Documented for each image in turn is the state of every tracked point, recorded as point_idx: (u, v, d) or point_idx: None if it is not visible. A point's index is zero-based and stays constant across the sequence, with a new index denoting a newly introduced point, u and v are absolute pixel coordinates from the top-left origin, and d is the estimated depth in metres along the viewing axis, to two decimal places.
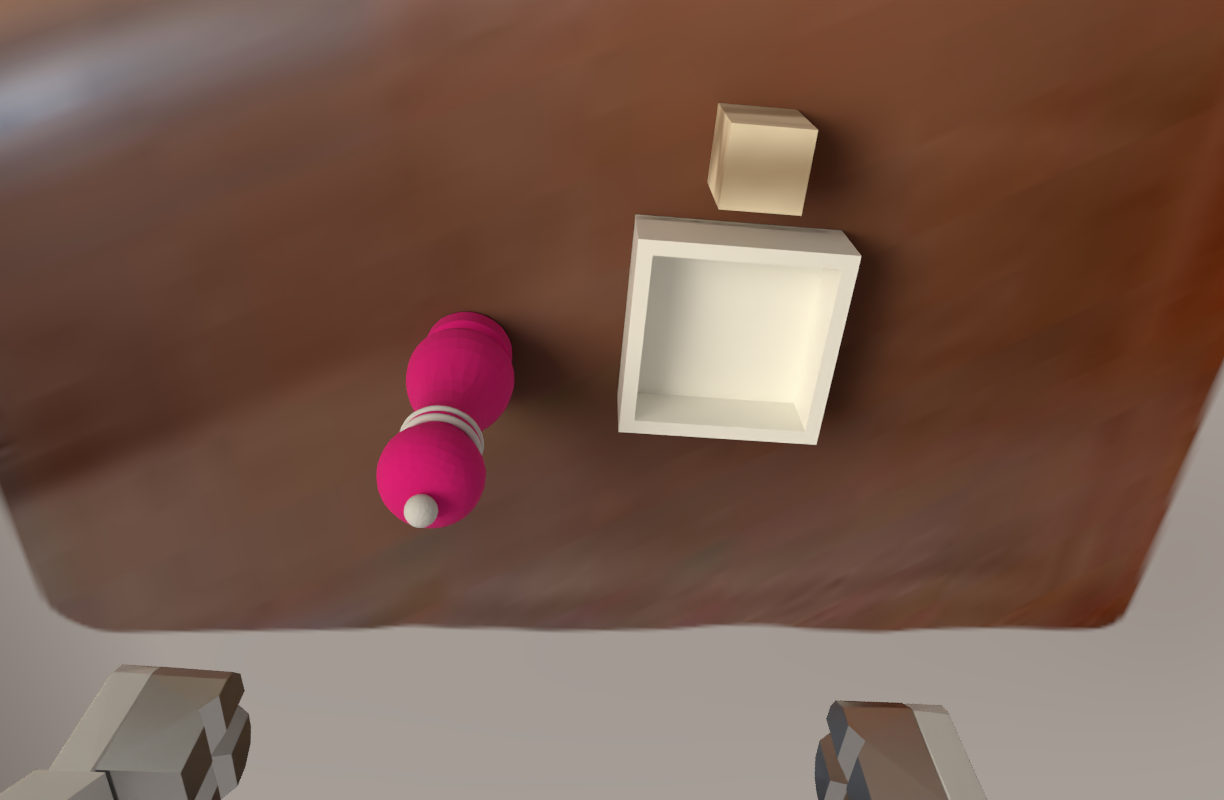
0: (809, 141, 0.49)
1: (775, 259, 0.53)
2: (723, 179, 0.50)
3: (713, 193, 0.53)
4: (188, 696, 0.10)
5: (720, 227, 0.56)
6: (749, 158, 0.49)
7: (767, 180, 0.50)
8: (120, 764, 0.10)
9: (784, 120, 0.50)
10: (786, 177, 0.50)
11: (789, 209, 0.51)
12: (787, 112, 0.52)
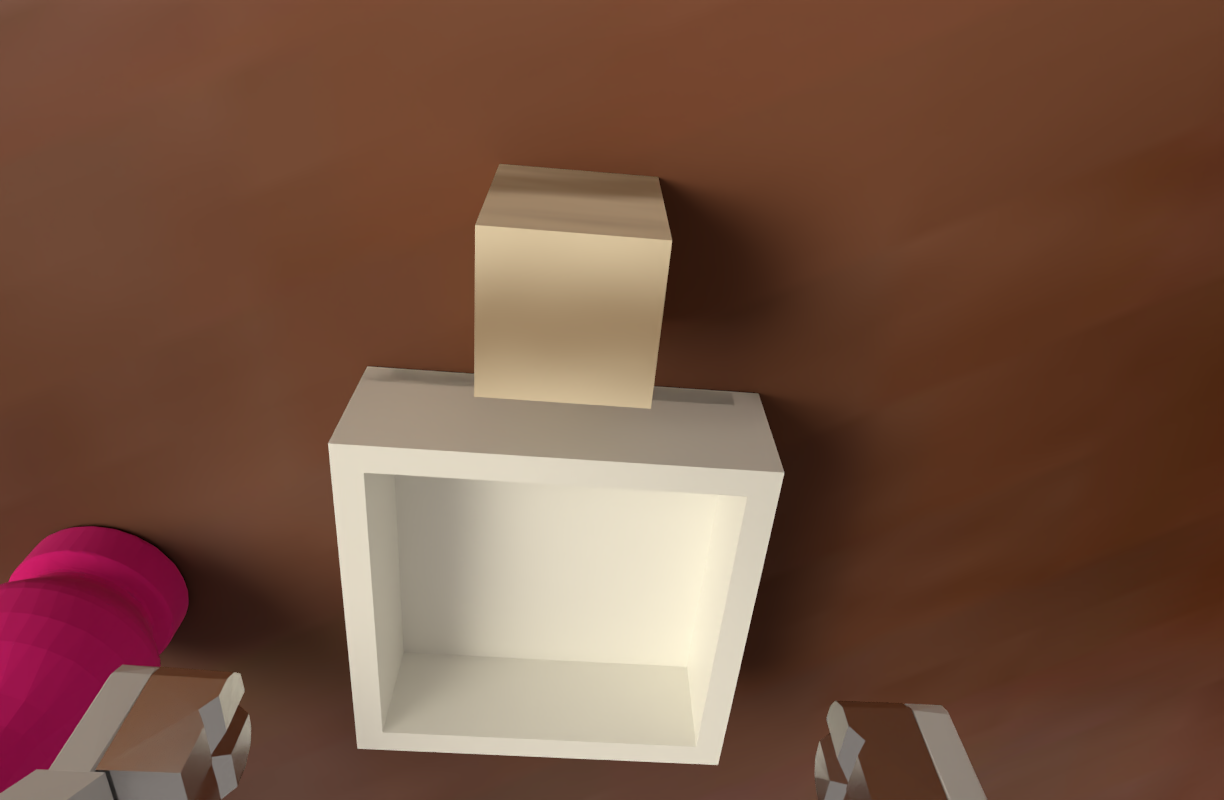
0: (654, 263, 0.22)
1: (612, 478, 0.26)
2: (476, 339, 0.23)
3: None
4: (188, 696, 0.10)
5: None
6: (526, 298, 0.22)
7: (571, 342, 0.23)
8: (120, 764, 0.10)
9: (610, 211, 0.23)
10: (610, 335, 0.23)
11: (624, 396, 0.24)
12: (632, 185, 0.26)
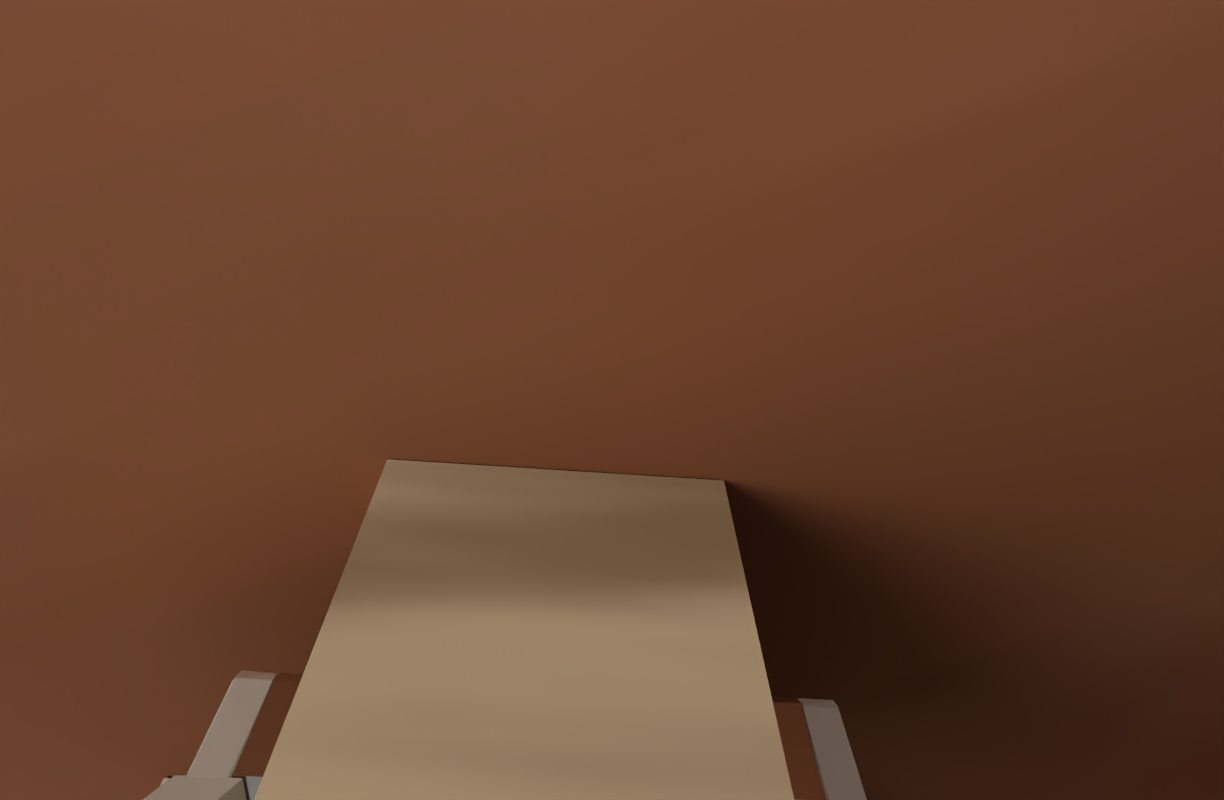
0: None
1: None
2: None
3: None
4: None
5: None
6: None
7: None
8: (255, 770, 0.10)
9: (627, 683, 0.09)
10: None
11: None
12: (673, 530, 0.12)
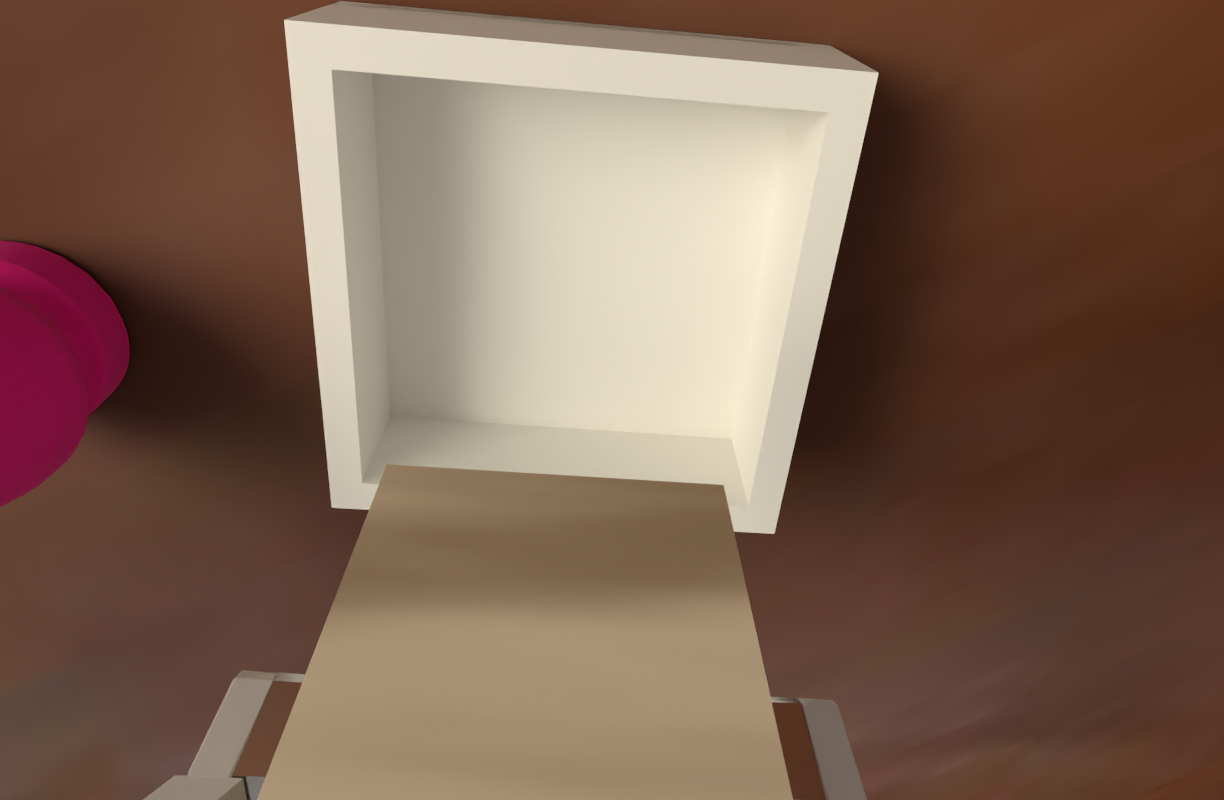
0: None
1: (654, 82, 0.20)
2: None
3: None
4: None
5: (535, 24, 0.23)
6: None
7: None
8: (255, 770, 0.10)
9: (627, 690, 0.09)
10: None
11: None
12: (673, 535, 0.12)
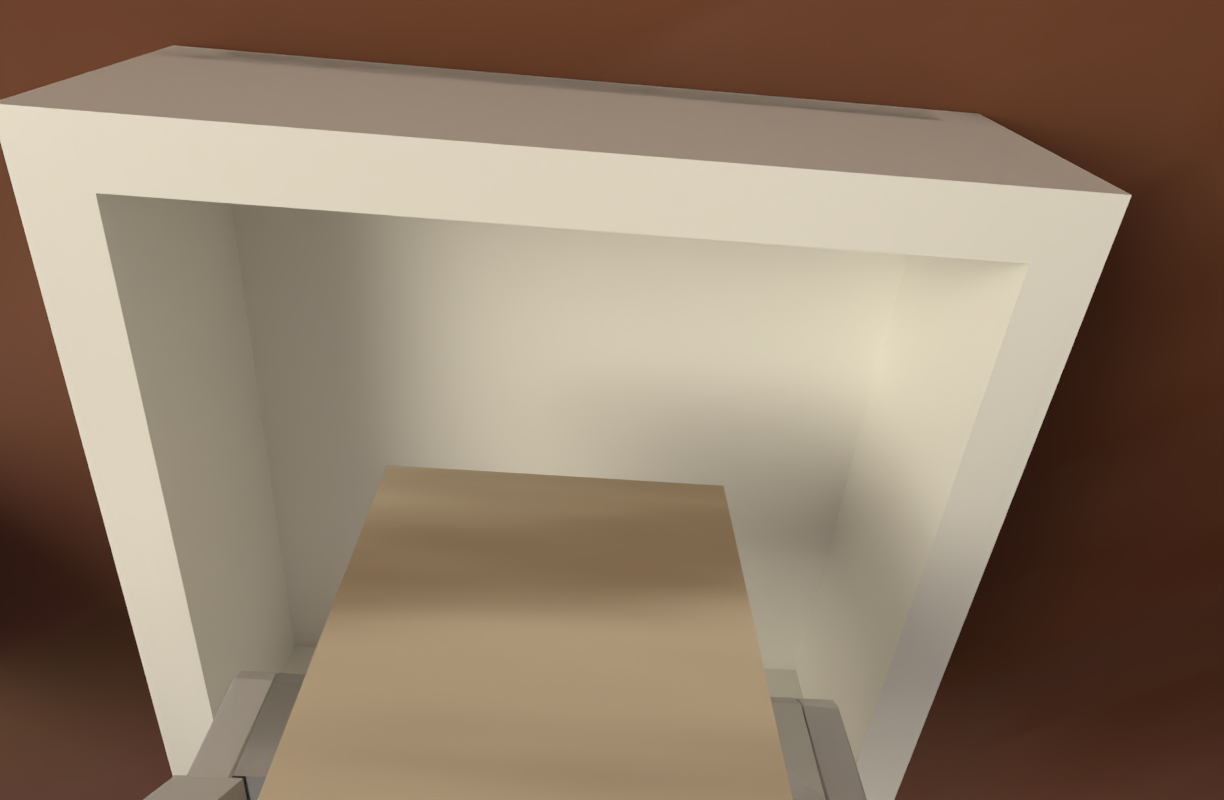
0: None
1: (708, 212, 0.11)
2: None
3: None
4: None
5: (493, 88, 0.13)
6: None
7: None
8: (255, 770, 0.10)
9: (627, 691, 0.09)
10: None
11: None
12: (673, 536, 0.12)
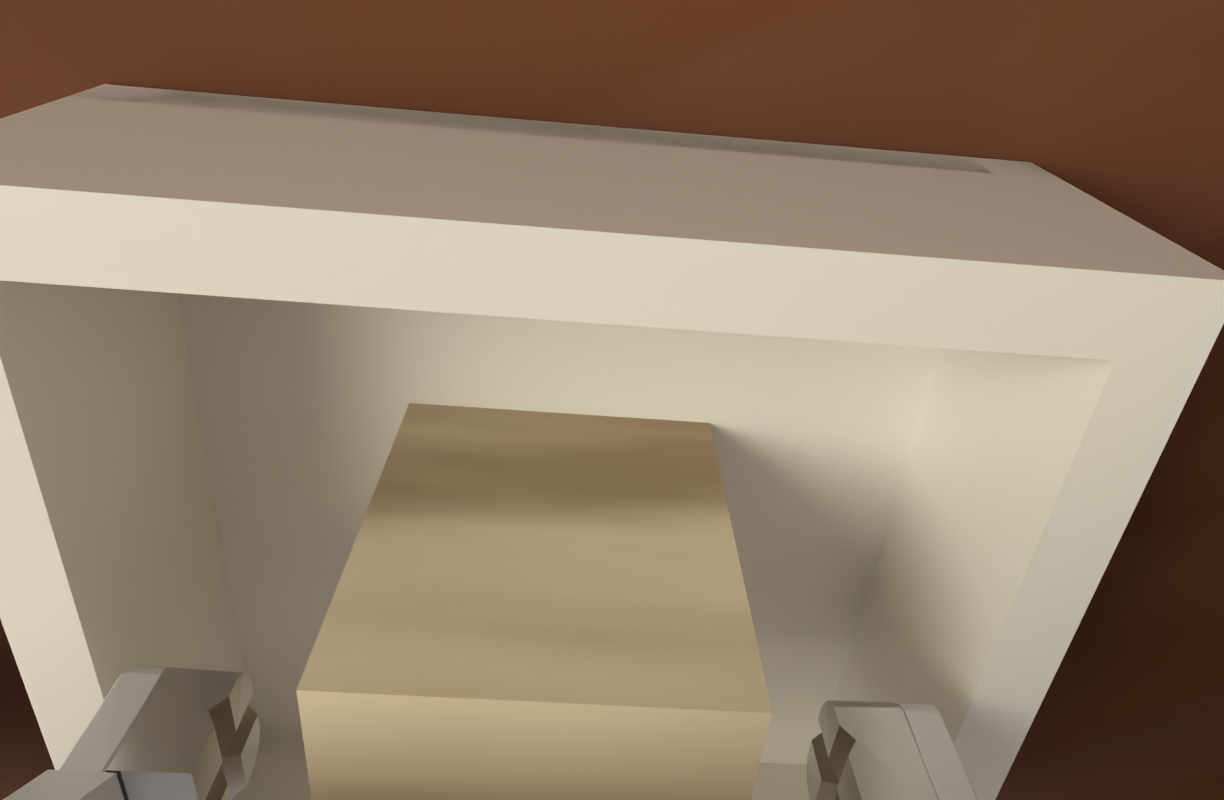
0: (728, 753, 0.09)
1: (728, 301, 0.09)
2: None
3: None
4: (198, 696, 0.11)
5: (472, 137, 0.11)
6: None
7: None
8: (131, 764, 0.10)
9: (622, 577, 0.11)
10: None
11: None
12: (663, 462, 0.13)
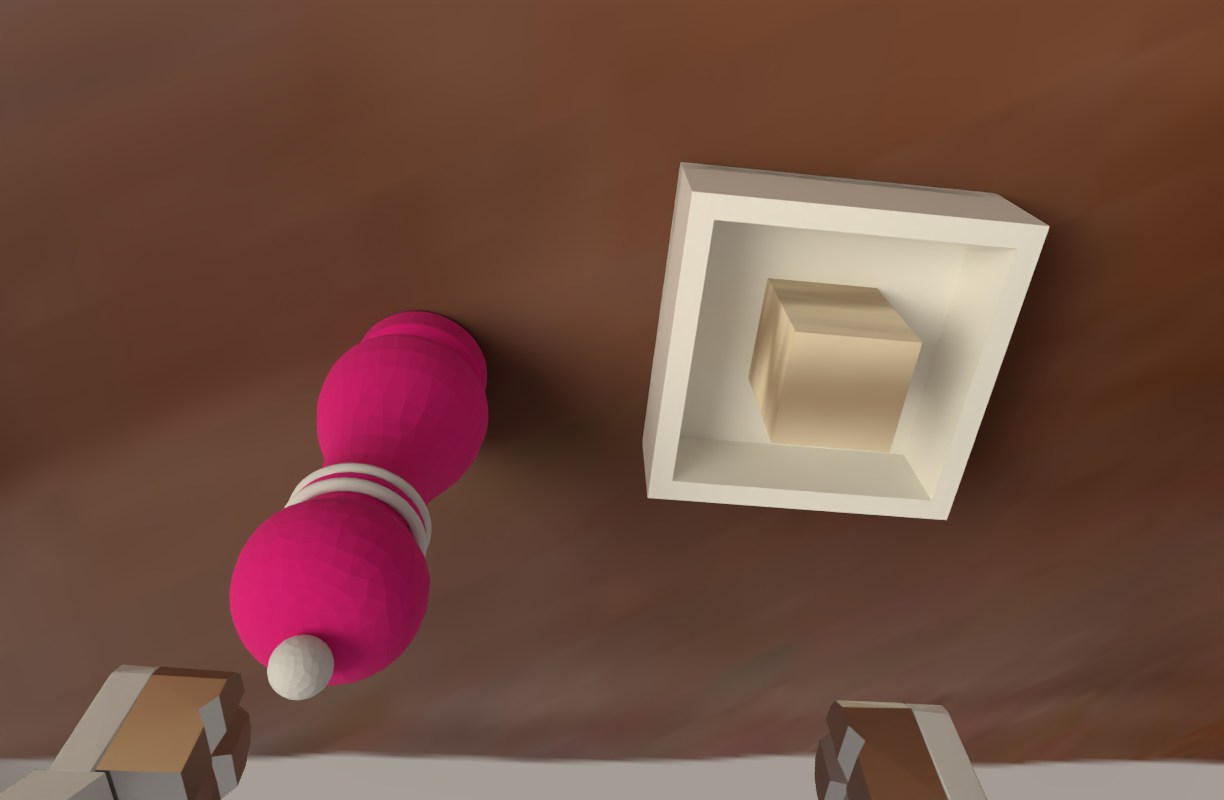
0: (908, 357, 0.33)
1: (911, 229, 0.33)
2: (780, 404, 0.34)
3: (760, 407, 0.37)
4: (188, 696, 0.10)
5: (814, 182, 0.35)
6: (819, 378, 0.34)
7: (843, 407, 0.34)
8: (120, 764, 0.10)
9: (868, 319, 0.35)
10: (870, 402, 0.34)
11: (873, 444, 0.35)
12: (866, 296, 0.37)
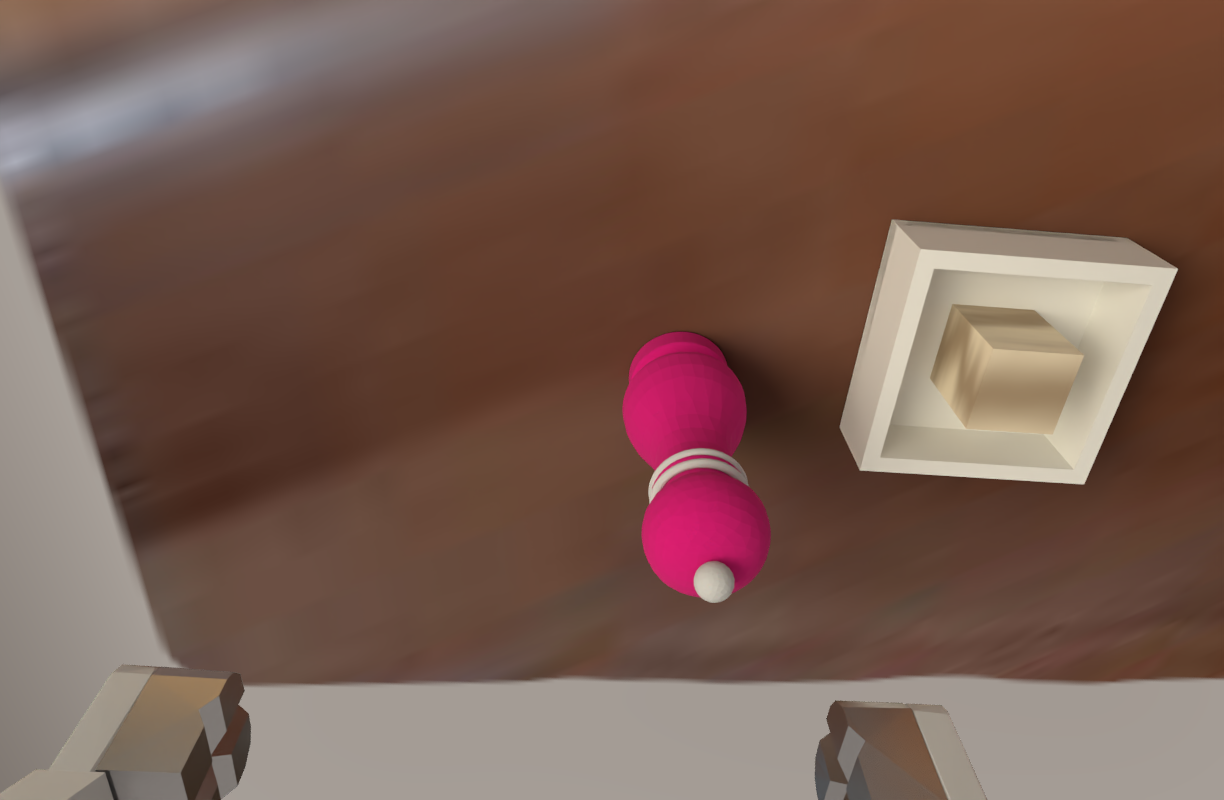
0: (1073, 365, 0.46)
1: (1076, 272, 0.45)
2: (975, 401, 0.47)
3: (949, 402, 0.50)
4: (188, 696, 0.10)
5: (996, 234, 0.48)
6: (1006, 381, 0.46)
7: (1022, 402, 0.47)
8: (120, 764, 0.10)
9: (1039, 336, 0.47)
10: (1042, 398, 0.47)
11: (1041, 428, 0.48)
12: (1029, 317, 0.49)
